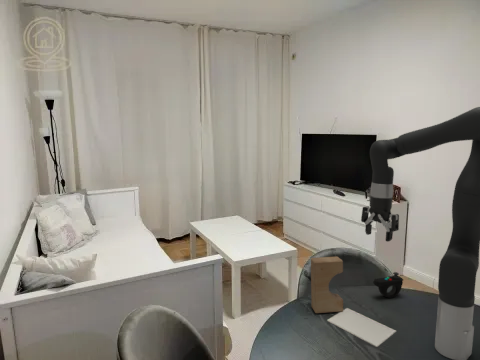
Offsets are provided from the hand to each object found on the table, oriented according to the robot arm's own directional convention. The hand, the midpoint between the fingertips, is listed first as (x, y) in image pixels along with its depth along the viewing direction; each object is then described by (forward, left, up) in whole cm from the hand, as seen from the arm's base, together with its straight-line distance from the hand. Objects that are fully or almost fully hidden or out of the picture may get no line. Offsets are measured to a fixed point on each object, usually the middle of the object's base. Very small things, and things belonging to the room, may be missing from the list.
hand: (378, 237), depth 126 cm
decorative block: (+12, +14, -29) cm, 34 cm away
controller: (+2, -13, -29) cm, 32 cm away
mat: (-2, +13, -29) cm, 32 cm away
